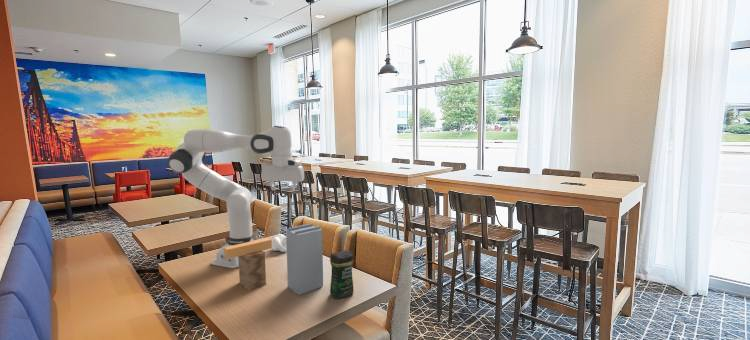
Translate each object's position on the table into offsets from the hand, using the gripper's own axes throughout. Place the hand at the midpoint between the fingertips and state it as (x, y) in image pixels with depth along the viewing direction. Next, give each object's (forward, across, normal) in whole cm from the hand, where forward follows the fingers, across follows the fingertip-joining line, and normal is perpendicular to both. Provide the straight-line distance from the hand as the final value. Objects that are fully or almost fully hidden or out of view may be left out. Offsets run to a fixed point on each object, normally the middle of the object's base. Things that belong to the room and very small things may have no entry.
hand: (283, 190), depth 162 cm
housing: (+41, +14, -10) cm, 45 cm away
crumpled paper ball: (+41, -18, +32) cm, 55 cm away
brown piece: (+41, -11, -11) cm, 44 cm away
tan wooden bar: (+26, -11, -12) cm, 31 cm away
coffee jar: (+41, +32, -14) cm, 54 cm away
